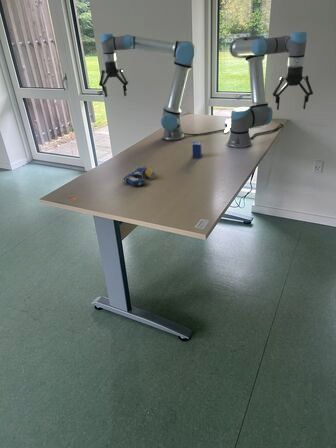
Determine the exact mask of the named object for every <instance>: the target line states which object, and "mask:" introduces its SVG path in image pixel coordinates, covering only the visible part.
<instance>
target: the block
mask: <svg viewBox="0 0 336 448" xmlns="http://www.w3.org/2000/svg"><path fill="white" fill-rule="evenodd" d="M202 153H203V152H202V141H193V142H192V159H201V158H202Z"/></svg>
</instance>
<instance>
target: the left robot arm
mask: <svg viewBox="0 0 336 448" xmlns="http://www.w3.org/2000/svg"><path fill="white" fill-rule="evenodd" d="M100 41H101V48H102V55H103V59H104V60H103V61H104V66H105V70H104V69H102V70H101V75H100V79H99V83H98V86H99V87H101V88H102V92H103V93H104V98H107V97H108V90H107V85H106V84H107V83H108V80H109V79H110V78H117V79H118V80H119V81H120V83H121V84H122V90H123V96H124V97H127V96H128V95H127V91H128V85H129V84H130V81H129V80H128V78H127V76H126V75H125V73H124V70H123V68H120V69H119V68H118V62H117V55H116V51H125V50H127V51H129V50H137V51H144V52H149V53H154V54H161V55H162V54H163V55H167V56H172V57H173V58H174V61H173V65H174V67H175V68H174V72H173V77H172V82H171V85H170V90H169V95H168V99H167V104H166V105H165V106H163V108H162V111H163V112H162V117H161V118H160V124H161V126H162V128H163V129H164V130H163V135H162V139H163V140H164V141H167V142H176V141H180V140H182V139H184V137H185V135H186V136H187V135H188V136H200V135H201V136H202V135H208V134H212V133H217V132H224V131H225V129H226V128H223V129H218V130H212V131H208V132H202V133H185V132H183V129H182V126H181V113H182V110H181V104H182V100H183V96H184V92H185V88H186V84H187V83H186V82H187V80H188V75H189V71H191V70H192V68H193V64H194V62H195V61H194V60H195V58H196V53H197V51H196V47H195V45H194V44H193V43H192V41H186V40H185V41H183V40H182V41H179V40H175V41H168V40H162V39H156V38H149V37H142V36H135V35H131V34H125V35H119V36H114V34H113V33H102V34H101V35H100ZM105 75H106V77H105ZM257 127H259V126H257ZM229 130H231V127H230V129H229Z"/></svg>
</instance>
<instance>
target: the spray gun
mask: <svg viewBox="0 0 336 448" xmlns="http://www.w3.org/2000/svg"><path fill="white" fill-rule="evenodd" d="M144 176H146V177H147V178H148V179H150V180H154V179H156V176H157V174H156V172H155V171H154V170H152V169H150V168H147V166H136V168H135V169H133V170H132V171H131V172H130V173H129V174H127V175H126V176H124V177H123V180H122V182H123V183H124V184H126V185H127V184H128V185H131V186H132V187H139V186H143V184H145V179H144Z"/></svg>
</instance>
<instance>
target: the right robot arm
mask: <svg viewBox="0 0 336 448" xmlns="http://www.w3.org/2000/svg"><path fill="white" fill-rule="evenodd" d="M307 35H308V33H307V32H306V31H293V32H291V33H290V35H281V36H276V37H265V36H263V35H251V36H250V35H249V36H242V37H238V38H235V39H234V40H232V41H231V43H230V45H229V54H230V55H231V56H232V57H233V58H235V59H245V63H247V65H248V75H249V88H250V99H251V104H250V105H249V106H239V107H236V108H234V109H233V110H231V113H230V118H231V127H230V128H231V129H230V135H229V137H228V139H227V146H228V147H229V148H235V149H242V148H243V149H244V148H248V147H250V146H251V145H252V140H251V139H254V137H255V136H257V135H263V134H266V133H271V132H275V131H276V130H277V129H278V128H280V126H283V123H279V125H278V126H276V127H275V128H274V129H271V130H266V131H260V132H255V133H254V134H253V135H252V136H250V132H249V131H250V128H256V127H257V126H258V127H264V126H267V125H269V124H271V121H272V119H273V115H274V112H273V109H272V107H271V106H270V105H269V102H267V101H266V90H265V78H264V77H265V76H264V65H263V61H264V59H265V56H266V55H267V56H268V55H275V54H283V53H288V59H287V71H286V76H285V77H284V76H280V78H279V81H278V84H277V85H276V87H275V89H274V91H273V92H272V97H275V104H276V110H277V111H279V110H280V100H281V99H280V96H281V94H282V93H283V92H284V91H285V90H286V89H287V88H288V87H293V86H295V87H297V86H299V87H300V88H301V90H302V91H303V92H304V94H305V95H303V104H302V109H303V110H306V107H307V106H306V105H307V103H309V97H310V96H311V95H314V92H313V89H312V86H311V83H310V81H309V76H308V75H307V74H306V75H304V76H303V72H304V71H303V70H304V66H303V65H304V62H305V55H306V47H307V41H308V40H307ZM302 80H304V81H305V84H306V87H307V89H306V88H305V87H304V85H303V84H302ZM285 81H286V83H285V84H284V85H283V86H282V84H283V83H284V82H285ZM281 86H282V88H280V87H281ZM279 89H280V90H279ZM307 90H308V91H309V92H308V91H307Z"/></svg>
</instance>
